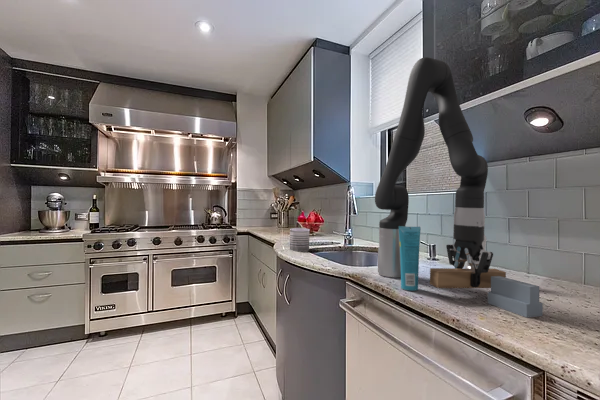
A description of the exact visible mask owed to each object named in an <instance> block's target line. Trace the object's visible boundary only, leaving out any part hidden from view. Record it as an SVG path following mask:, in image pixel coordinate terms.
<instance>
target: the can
mask: <svg viewBox="0 0 600 400" xmlns="http://www.w3.org/2000/svg"><path fill="white" fill-rule="evenodd" d="M310 231H311V230H310V228H306V227H304V228H303V227H294V228H293V227H292V228H290V229H289V251H292V252H308V251H310Z"/></svg>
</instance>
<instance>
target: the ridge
mask: <svg viewBox="0 0 600 400" xmlns="http://www.w3.org/2000/svg"><path fill="white" fill-rule="evenodd" d="M487 304H489V305H491V306H495V307H498V308H499V309H502V310H505V311H507V312H511V313H513V314H516V315H518V316H522V317H524V318H535V317H542V316H543V315H544V314H543V313H544V311H543V308H544V307H543V304H544V303H543V302H540V285H536V284H533V283H528V282H524V281H521V280H517V279H513V278H509V277H506V278H505V277H501V276H491V288H490V291H487Z"/></svg>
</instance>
